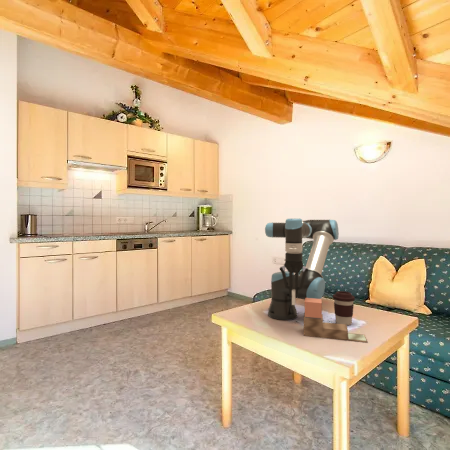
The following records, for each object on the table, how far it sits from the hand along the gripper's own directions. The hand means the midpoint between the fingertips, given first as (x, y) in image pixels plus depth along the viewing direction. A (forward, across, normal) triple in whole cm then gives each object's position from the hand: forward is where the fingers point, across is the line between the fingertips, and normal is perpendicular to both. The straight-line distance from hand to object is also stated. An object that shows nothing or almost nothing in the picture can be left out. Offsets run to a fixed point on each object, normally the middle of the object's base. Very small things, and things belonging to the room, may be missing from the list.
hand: (293, 304), depth 134 cm
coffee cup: (+13, +22, +18) cm, 31 cm away
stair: (+12, +17, 0) cm, 21 cm away
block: (+5, +8, 0) cm, 10 cm away
